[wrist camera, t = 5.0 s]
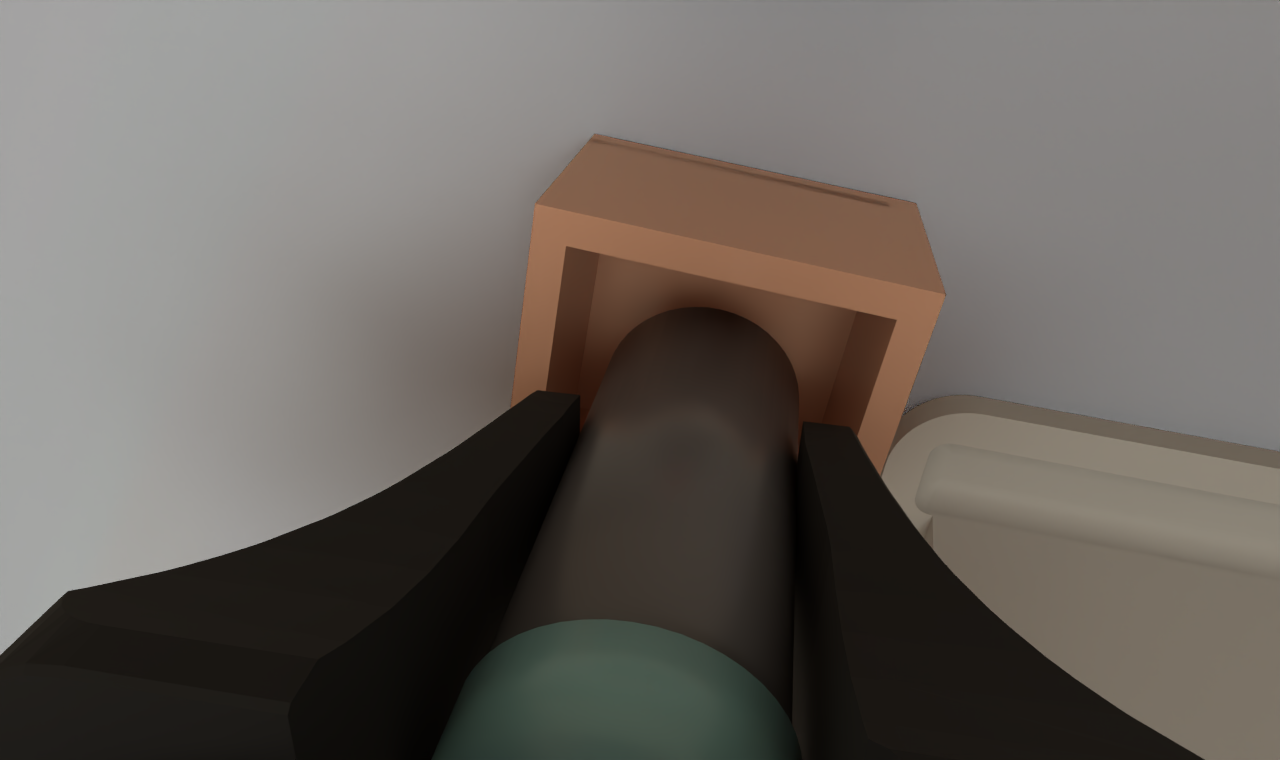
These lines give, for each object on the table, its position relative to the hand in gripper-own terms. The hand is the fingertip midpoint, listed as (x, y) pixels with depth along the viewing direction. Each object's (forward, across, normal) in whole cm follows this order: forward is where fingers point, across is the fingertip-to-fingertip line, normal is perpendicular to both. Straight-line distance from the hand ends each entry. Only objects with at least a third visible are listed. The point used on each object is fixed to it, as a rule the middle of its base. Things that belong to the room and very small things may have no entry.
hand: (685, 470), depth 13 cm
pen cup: (+5, 0, 0) cm, 5 cm away
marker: (+2, 0, 0) cm, 2 cm away
